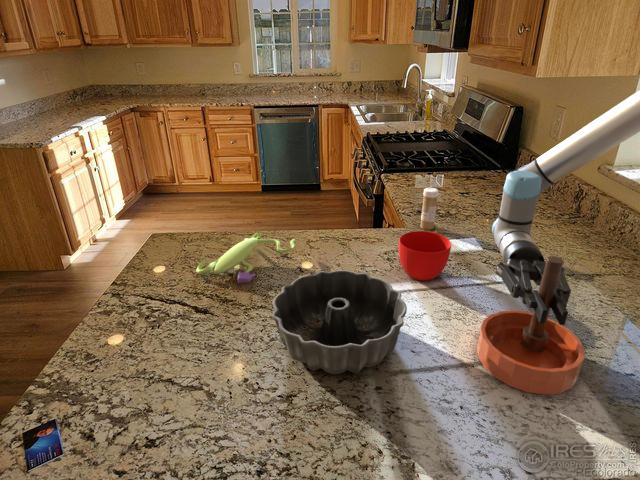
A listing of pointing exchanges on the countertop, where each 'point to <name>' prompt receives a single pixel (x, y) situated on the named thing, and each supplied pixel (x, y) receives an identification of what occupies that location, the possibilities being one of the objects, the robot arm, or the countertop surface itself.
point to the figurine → (240, 258)
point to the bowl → (529, 354)
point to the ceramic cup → (423, 254)
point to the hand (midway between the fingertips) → (553, 317)
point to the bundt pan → (339, 320)
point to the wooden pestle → (535, 333)
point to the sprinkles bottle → (429, 208)
